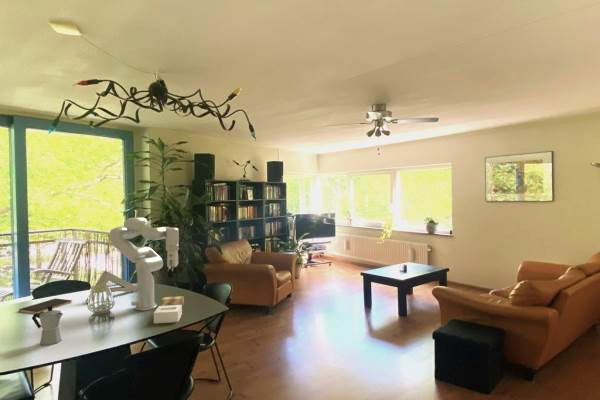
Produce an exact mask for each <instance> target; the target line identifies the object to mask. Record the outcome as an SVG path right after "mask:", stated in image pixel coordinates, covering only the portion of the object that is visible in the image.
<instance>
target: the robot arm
mask: <svg viewBox="0 0 600 400" xmlns="http://www.w3.org/2000/svg"><path fill="white" fill-rule="evenodd" d="M179 232H180V231H179V228H177V227H170V226H159V227H158V226H157V227H152V226H151V223H150V222H149V221H148V220H147V218H145V217H142V216H140V217H130V218H127V219H126V220H125V221H124V226H117V227H113V228H112V229H110V231H109V232H108V233H109V234H108V237H109V242H110V243H111V245H112V246H113V247H114V248H115V249H116V250H118V251H119V252H120V253H122V255H123V256H125V258H127V260H129V262H131V263H135V271H136V275H137V287H138V290H137V301H131V306H135V310H136V311H143V312H144V311H150V310H153V309H157V308H158V304H157V303H156V302H155V278H154V275H153V274H152V272H156V271H159V270H160V269H162V268H163V266H164V261H163V259H162V257H161V256H160V255H159V254H157V252H155V251H154V249H152V248H151V247H150V246H139V247H138V246H136V245H135V244H134V243H133V242H131V241H129V240H128V239H134V238H135V237H138V235H139V234H140V235H141V236H142V237H143V238H144V239H148V240H152V241H158V240H165V251H166V252H167V255H166V257H167V258H166V260H167V261H166V264H167V278H168V279H171V278H174V277H175V275H177V274H178V268H177V267H178V265H179V252H178V251H179V250H180V247H179V246H180V245H179V243H180V241H179V240H180V237H179V234H180V233H179Z"/></svg>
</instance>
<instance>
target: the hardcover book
mask: <svg viewBox="0 0 600 400" xmlns="http://www.w3.org/2000/svg"><path fill="white" fill-rule="evenodd" d="M72 302H73V300H71V299H64V298H53V299H49V300H46V301H42V302H38V303H36V304H31V305H29V306H26V307H22V308H19V309H18V313H19V312H20V313H26V314H27V313H28V314H33V315H34V314H36V313H40V312H41V311H44V312H46V311H48V308H47V306H50V305H53V308H52V310H55V309H57V308H60V307H63V306H66V305H69V304H72Z"/></svg>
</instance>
